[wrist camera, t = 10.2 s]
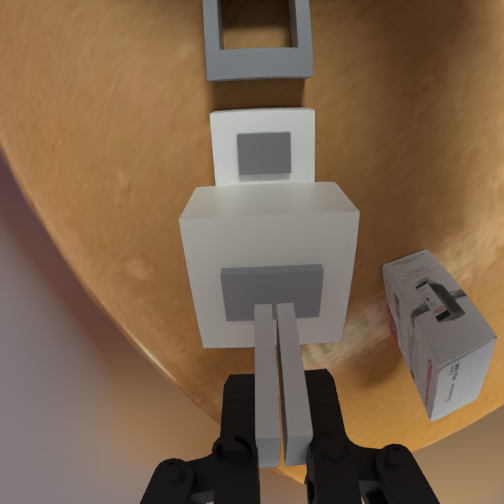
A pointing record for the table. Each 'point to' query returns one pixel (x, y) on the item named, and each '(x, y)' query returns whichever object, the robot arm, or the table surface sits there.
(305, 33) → the plug rest
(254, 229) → the plug
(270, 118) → the socket
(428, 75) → the table surface
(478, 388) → the ink box
